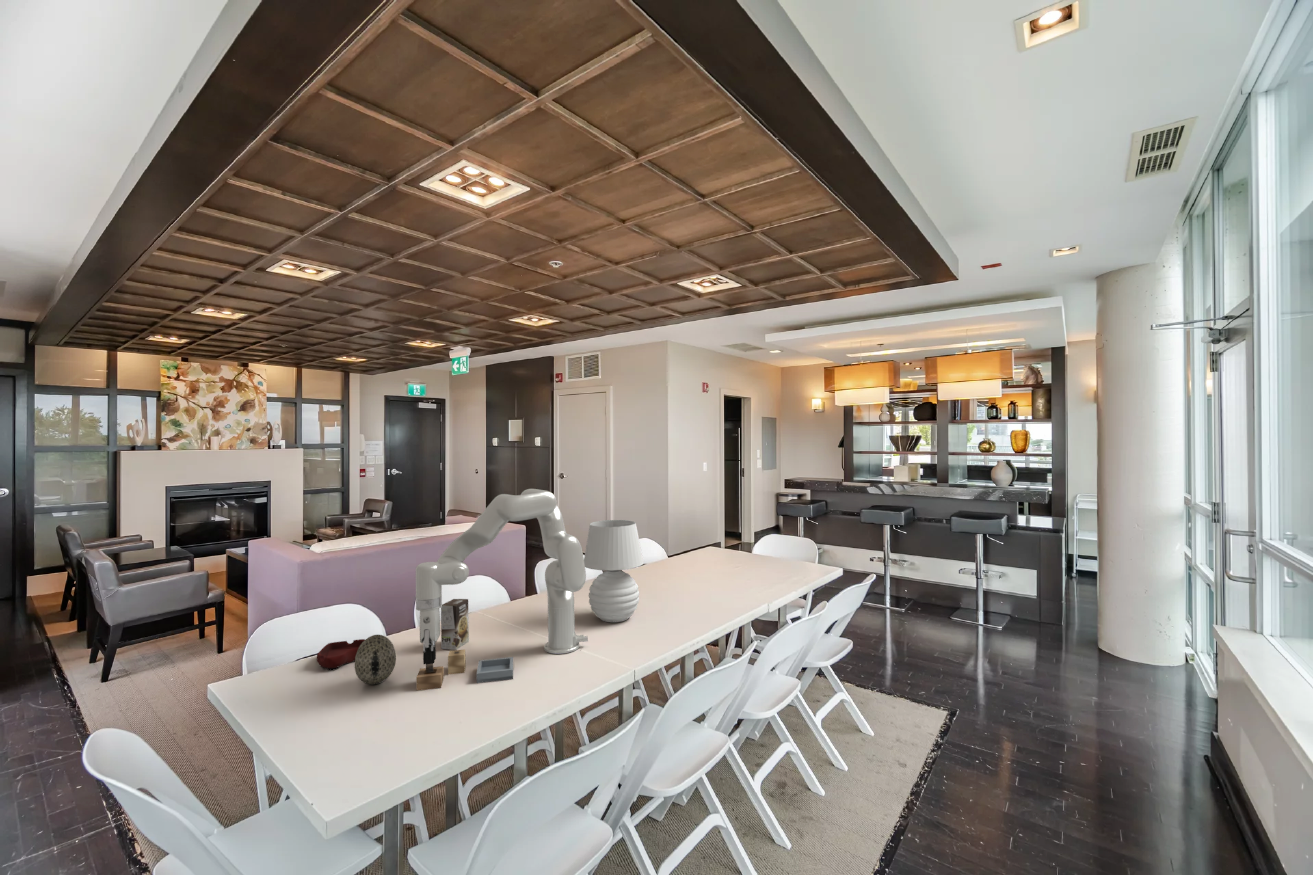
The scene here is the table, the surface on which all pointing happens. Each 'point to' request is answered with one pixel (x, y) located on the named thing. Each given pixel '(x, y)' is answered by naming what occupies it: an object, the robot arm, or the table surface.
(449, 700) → the table surface
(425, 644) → the robot arm
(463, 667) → the oak block
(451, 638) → the coffee box
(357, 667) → the decorative egg
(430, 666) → the cylinder
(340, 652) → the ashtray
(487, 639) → the table surface
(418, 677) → the tan wooden square frame
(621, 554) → the table lamp
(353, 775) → the table surface
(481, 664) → the tray
